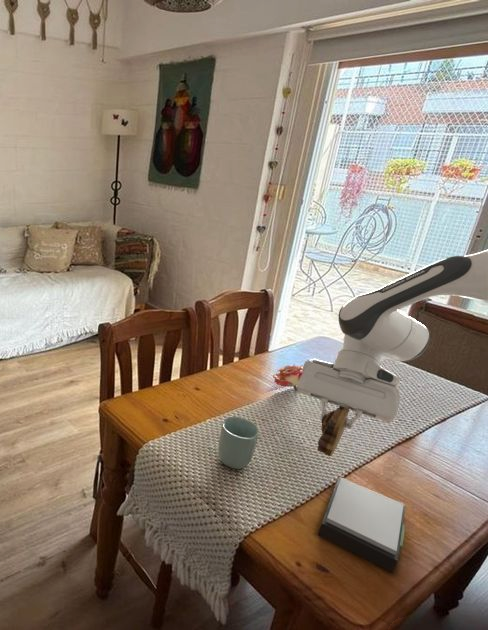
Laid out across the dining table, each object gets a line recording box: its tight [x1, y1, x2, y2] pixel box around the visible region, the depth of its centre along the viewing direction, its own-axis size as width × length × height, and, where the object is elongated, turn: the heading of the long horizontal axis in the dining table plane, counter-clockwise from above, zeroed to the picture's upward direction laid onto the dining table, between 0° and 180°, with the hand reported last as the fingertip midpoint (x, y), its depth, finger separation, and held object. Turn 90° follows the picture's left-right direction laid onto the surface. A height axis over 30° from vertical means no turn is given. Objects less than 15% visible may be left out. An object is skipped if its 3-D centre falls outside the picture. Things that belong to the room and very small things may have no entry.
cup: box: [217, 416, 260, 470], centre depth 101 cm, size 8×8×10 cm
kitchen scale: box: [317, 477, 406, 573], centre depth 86 cm, size 12×16×4 cm
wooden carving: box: [317, 406, 350, 457], centre depth 99 cm, size 16×5×10 cm, turn 142°
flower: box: [272, 363, 304, 392], centre depth 132 cm, size 10×9×8 cm
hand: (335, 423), depth 101 cm, fingers closed on wooden carving, 3 cm apart
